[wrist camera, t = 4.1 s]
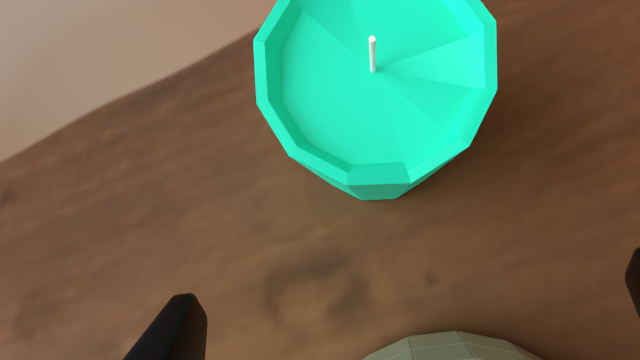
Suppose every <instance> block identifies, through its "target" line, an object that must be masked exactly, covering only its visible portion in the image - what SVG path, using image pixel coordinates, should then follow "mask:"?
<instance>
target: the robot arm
mask: <svg viewBox="0 0 640 360" xmlns="http://www.w3.org/2000/svg"><path fill="white" fill-rule="evenodd" d="M625 282H626V285H627V288H628V290H629V293H630V295H631V298H632V300H633V303H634V306H635V308H636V311H637V313H638V316H639V318H640V247H639V248H637V249H636V250H635V251H634V253H633V256H632V258H631V260H630V263H629V265H628V267H627V270H626V273H625ZM206 336H207V316H206V313H205V311H204V310H203V308H202V306H201V305H200V303H199V301H198V300H197V298H196V296H195V295H194V294H192V293H187V294H178V295H175V296H173V297H172V298H171V299H170V301H169V302H168V303H167V304H166V306H165V307H164V308H163V309H162V311H161V312H160V313H159V314H158V316H157V317H156V318H155V319H154V321H153V322H152V323H151V324H150V326H149V327H148V328H147V329H146V331H145V332H144V333H143V335H142V336H141V337H140V338H139V340H138V341H137V342H136V343H135V345H134V346H133V347H132V348H131V350H130V351H129V352H128V353H127V355H126V356H125V357H124V358H123V360H205V350H206Z"/></svg>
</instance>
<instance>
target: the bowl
mask: <svg viewBox="0 0 640 360" xmlns="http://www.w3.org/2000/svg"><path fill="white" fill-rule="evenodd" d="M362 360H542V359H541V358H539V357H537V356H535V355H533V354H531V353H529V352H527V351H526V350H524V349H522V348H520V347H518V346H516V345H514V344H513V343H511V342H509V341H505V340H501V339H496V338H491V337H486V336H481V335H476V334H471V333H466V332H461V331H448V332H440V333H431V334H423V335H414V336H409V337H405V338H403V339H401V340H399V341H397V342H395V343H393V344H391V345H389V346H386V347H384V348H382V349H380V350H378V351H376V352H374V353H372V354H370V355H367V356H366V358H363V359H362Z"/></svg>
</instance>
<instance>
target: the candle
mask: <svg viewBox="0 0 640 360" xmlns="http://www.w3.org/2000/svg"><path fill="white" fill-rule="evenodd" d="M253 48H254V66H255V84H256V102H257V105H258V107H259V109H260V110H261V112H262V113H263V115H264V117H265V118H266V120H267V121H268V123H269V125H270V126H271V128H272V129H273V131H274V133H275V134H276V136H277V138H278V139H279V141H280V142H281V144H282V146H283V147H284V149H285V150H286V152H287V154H288V155H289V156H290V157H291V158H293V159H294V160H296V161H297V162H299V163H300V164H302V165H303V166H305V167H306V168H308V169H309V170H311V171H312V172H314V173H315V174H317V175H318V176H320V177H321V178H323V179H324V180H326V181H327V182H329V183H330V184H332V185H333V186H335V187H337V188H339V189H341V190H343V191H345V192H347V193H349V194H351V195H352V196H354V197H356V198H358V199H360V200H382V199H396V198H398V197H399V196H401V195H402V194H404V193H406V192H407V191H409V190H410V189H412V188H414V187H415V186H417V185H418V184H420V183H421V182H423V181H425V180H426V179H427V178H428V177H430V176H431V175H432V174H434V173H435V172H436V171H438V170H439V169H440V168H442V167H443V166H444V165H445V164H447V163H448V162H449V161H451V160H452V159H453V158H455V157H456V156H457V155H459V154H460V153H461V152H462V151H464V150H465V149H466V148H468V147H469V146H470V144H471V142H472V140H473V138H474V136H475V134H476V132H477V130H478V128H479V126H480V124H481V122H482V120H483V118H484V116H485V114H486V112H487V110H488V108H489V106H490V104H491V102H492V100H493V98H494V96H495V94H496V92H497V41H496V20H495V19H494V18H493V16H492V15H491V14H490V12H489V11H488V10H487V9H486V7H485V6H484V5H483V4H482V2H481V1H480V0H278V1H277V3H276V5H275V6H274V8H273V9H272V11H271V12H270V14H269V16H268V17H267V19H266V20H265V22H264V24H263V25H262V27H261V28H260V30H259V32H258V33H257V35H256V36H255V38H254V40H253Z"/></svg>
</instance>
